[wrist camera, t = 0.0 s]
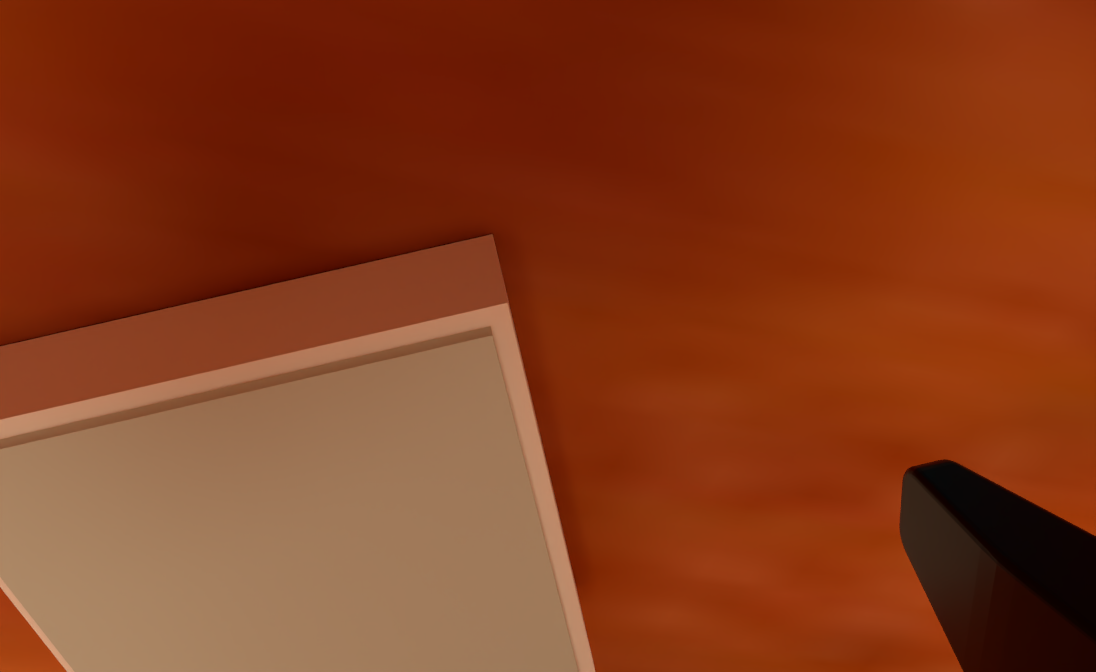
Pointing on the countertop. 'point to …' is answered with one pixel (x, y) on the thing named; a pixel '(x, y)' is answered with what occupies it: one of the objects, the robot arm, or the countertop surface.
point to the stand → (291, 482)
